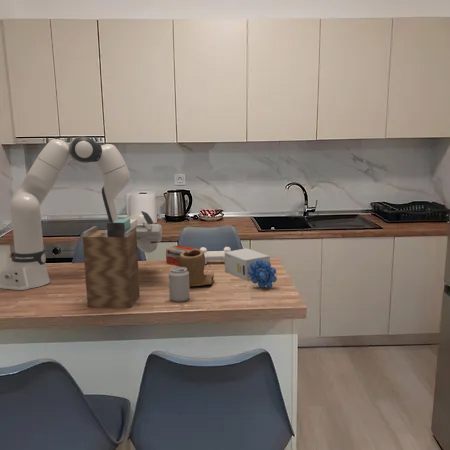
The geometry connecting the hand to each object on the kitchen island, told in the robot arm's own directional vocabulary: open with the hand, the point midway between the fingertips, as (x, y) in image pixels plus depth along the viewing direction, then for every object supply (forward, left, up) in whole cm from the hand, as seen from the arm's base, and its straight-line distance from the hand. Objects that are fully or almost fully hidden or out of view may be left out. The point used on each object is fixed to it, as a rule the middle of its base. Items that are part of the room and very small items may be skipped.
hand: (132, 224), depth 185 cm
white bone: (+28, +41, -27) cm, 56 cm away
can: (+20, -11, -27) cm, 35 cm away
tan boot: (+24, +6, -27) cm, 37 cm away
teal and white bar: (0, -9, -1) cm, 9 cm away
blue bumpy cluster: (+51, +3, -27) cm, 58 cm away
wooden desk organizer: (-4, -15, -27) cm, 31 cm away
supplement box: (+44, +24, -27) cm, 57 cm away
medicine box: (+13, +38, -27) cm, 49 cm away
